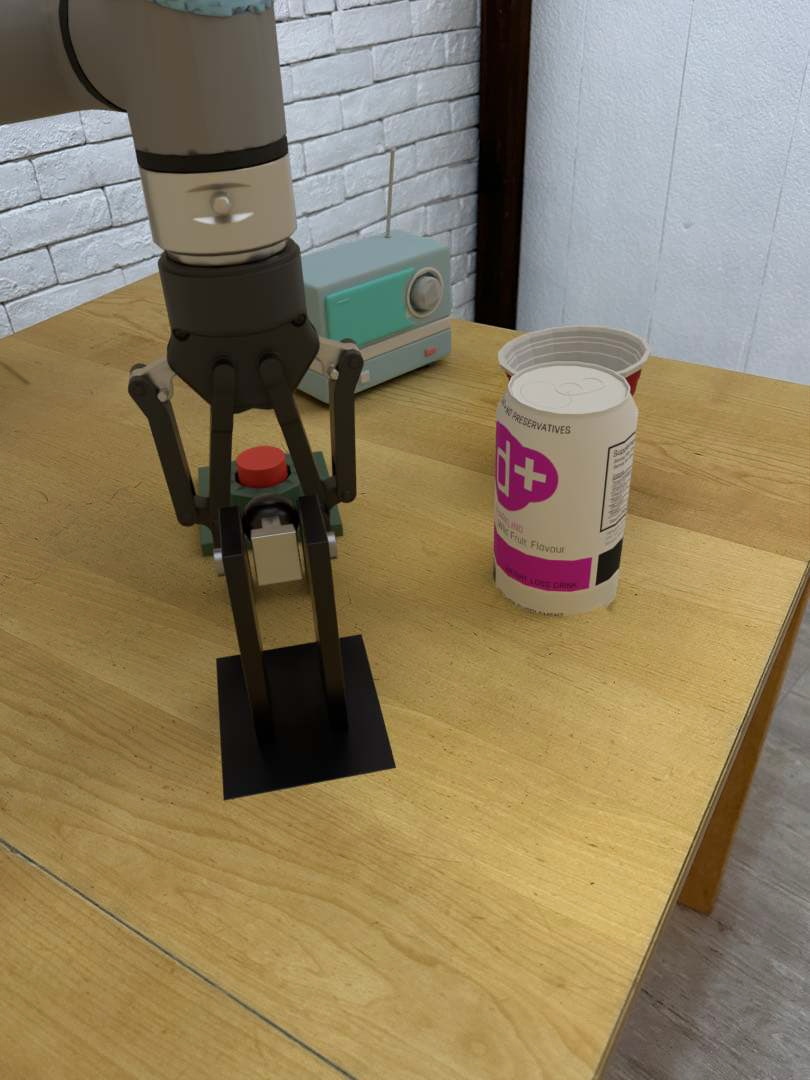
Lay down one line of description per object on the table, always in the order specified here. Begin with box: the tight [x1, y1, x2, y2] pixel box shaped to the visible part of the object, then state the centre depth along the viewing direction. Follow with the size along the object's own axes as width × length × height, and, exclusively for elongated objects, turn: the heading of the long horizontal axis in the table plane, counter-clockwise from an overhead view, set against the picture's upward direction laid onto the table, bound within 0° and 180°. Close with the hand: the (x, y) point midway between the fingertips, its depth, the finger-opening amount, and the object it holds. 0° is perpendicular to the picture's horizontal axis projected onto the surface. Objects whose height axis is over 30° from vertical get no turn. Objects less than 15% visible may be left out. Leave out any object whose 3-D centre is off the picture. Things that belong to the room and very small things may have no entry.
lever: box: [242, 493, 304, 587], centre depth 51 cm, size 16×4×4 cm, turn 12°
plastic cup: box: [497, 324, 653, 398], centre depth 68 cm, size 11×11×12 cm
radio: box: [297, 146, 452, 405], centre depth 84 cm, size 16×9×20 cm, turn 131°
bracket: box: [212, 494, 397, 802], centre depth 48 cm, size 11×9×14 cm
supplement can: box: [492, 362, 640, 617], centre depth 57 cm, size 8×8×15 cm
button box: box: [197, 450, 344, 557], centre depth 68 cm, size 11×10×4 cm
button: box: [235, 445, 288, 489], centre depth 67 cm, size 4×4×2 cm
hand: (282, 595), depth 61 cm, fingers closed on lever, 4 cm apart
